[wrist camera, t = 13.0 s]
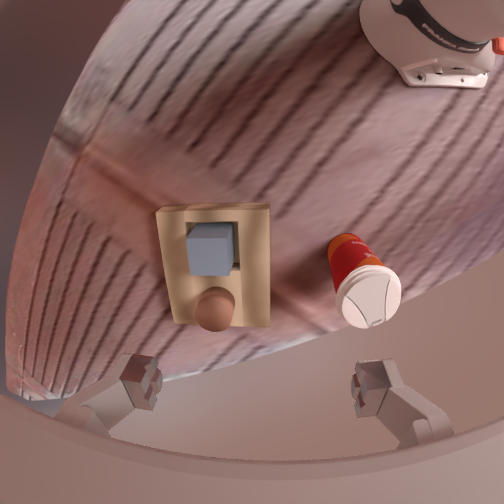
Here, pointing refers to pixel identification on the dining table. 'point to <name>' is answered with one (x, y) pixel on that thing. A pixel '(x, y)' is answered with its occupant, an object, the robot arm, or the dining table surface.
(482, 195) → the dining table surface
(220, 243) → the slate block
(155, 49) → the dining table surface
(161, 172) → the dining table surface
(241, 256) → the assembly board
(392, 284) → the paper cup
